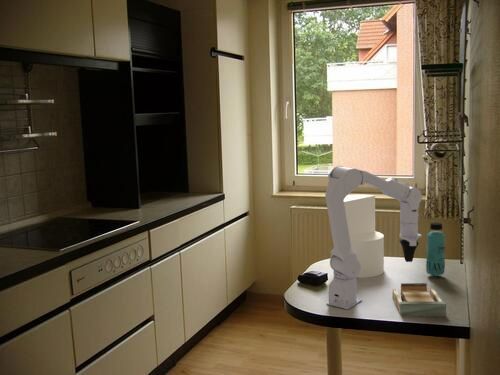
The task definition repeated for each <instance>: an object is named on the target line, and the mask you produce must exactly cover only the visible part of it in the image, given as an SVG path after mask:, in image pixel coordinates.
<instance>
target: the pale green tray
mask: <svg viewBox="0 0 500 375" xmlns="http://www.w3.org/2000/svg"><path fill="white" fill-rule="evenodd" d="M429 291H430V292H429V294H430V296H431V297H432V298H433V300H434V301H435V302H404V301H402V299H401V295H399V292H398V290H397V289H396V288H392V300H393V302H394V304H395V305H396V308H397V310H398V312H399V315H400V316H401V317H447V303H446V301H443V300H442V299H441V298H440V296H439V295H438V293H437V292H436V290H435V289H434V288H430V289H429Z"/></svg>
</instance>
